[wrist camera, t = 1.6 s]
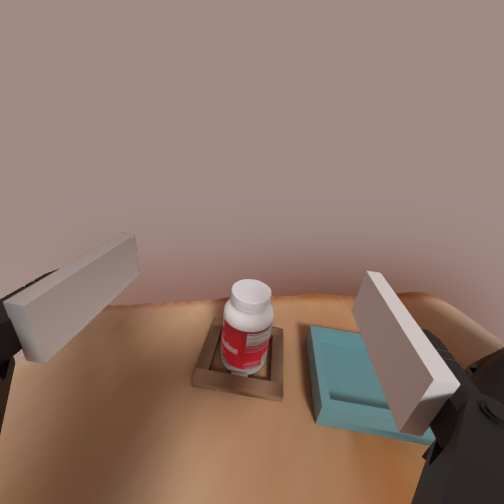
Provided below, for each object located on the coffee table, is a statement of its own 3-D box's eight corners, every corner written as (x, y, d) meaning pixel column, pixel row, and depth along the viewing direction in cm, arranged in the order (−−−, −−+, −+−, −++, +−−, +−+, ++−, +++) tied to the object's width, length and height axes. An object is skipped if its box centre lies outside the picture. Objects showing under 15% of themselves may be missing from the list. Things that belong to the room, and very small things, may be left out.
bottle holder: (281, 334, 37) (283, 329, 37) (281, 402, 28) (283, 395, 27) (214, 323, 38) (214, 317, 38) (191, 385, 29) (191, 378, 28)
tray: (386, 353, 36) (393, 339, 35) (429, 445, 26) (442, 428, 24) (305, 340, 37) (310, 325, 36) (315, 423, 26) (322, 406, 25)
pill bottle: (215, 344, 34) (219, 278, 30) (255, 335, 37) (264, 273, 32) (227, 383, 29) (234, 311, 25) (272, 370, 32) (287, 302, 27)
